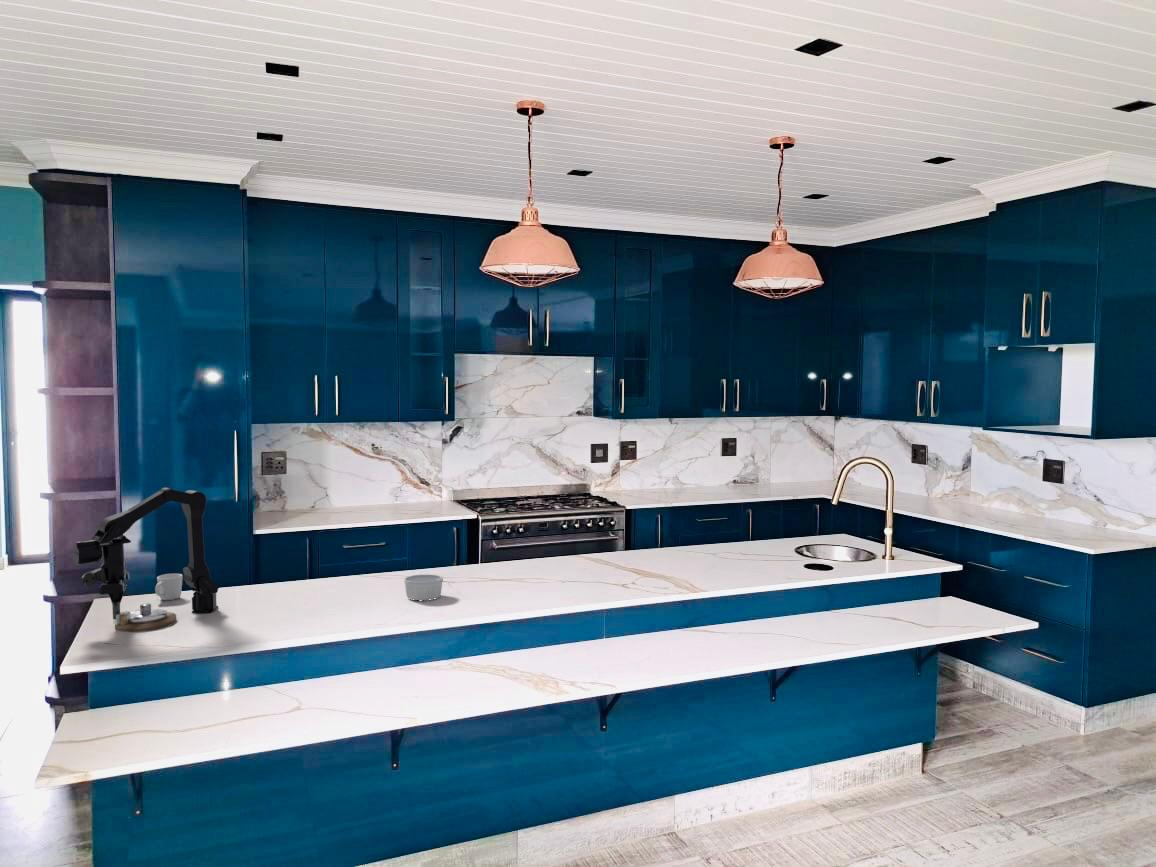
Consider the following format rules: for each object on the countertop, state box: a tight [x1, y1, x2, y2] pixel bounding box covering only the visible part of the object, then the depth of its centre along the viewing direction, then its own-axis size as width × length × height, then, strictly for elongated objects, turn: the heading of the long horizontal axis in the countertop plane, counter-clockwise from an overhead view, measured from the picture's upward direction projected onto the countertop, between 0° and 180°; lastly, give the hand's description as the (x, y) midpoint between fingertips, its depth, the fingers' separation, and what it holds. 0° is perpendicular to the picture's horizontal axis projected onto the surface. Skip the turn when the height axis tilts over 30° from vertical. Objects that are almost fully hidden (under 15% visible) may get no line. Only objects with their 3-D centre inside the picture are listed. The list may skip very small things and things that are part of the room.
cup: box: [154, 573, 184, 601], centre depth 290 cm, size 11×8×8 cm
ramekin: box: [403, 573, 444, 600], centre depth 292 cm, size 13×13×7 cm
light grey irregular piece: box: [111, 601, 168, 625], centre depth 259 cm, size 16×12×7 cm
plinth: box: [114, 611, 177, 633], centre depth 261 cm, size 17×17×4 cm
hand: (116, 609), depth 256 cm, fingers closed
